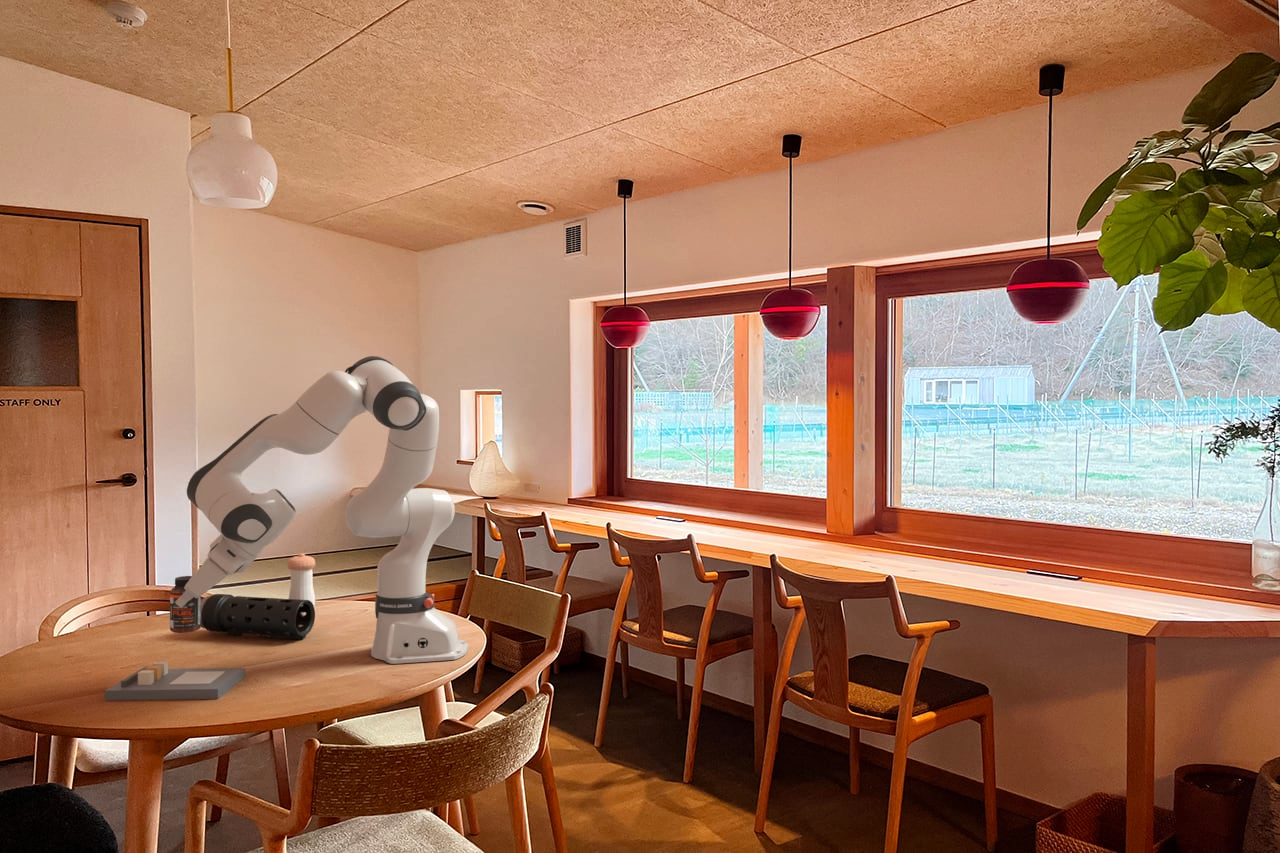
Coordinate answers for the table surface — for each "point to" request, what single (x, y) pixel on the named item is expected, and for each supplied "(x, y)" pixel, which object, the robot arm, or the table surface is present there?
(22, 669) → the table surface
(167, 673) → the breaker board
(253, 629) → the muzzle brake
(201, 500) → the robot arm
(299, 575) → the pepper shaker
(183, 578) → the supplement bottle
